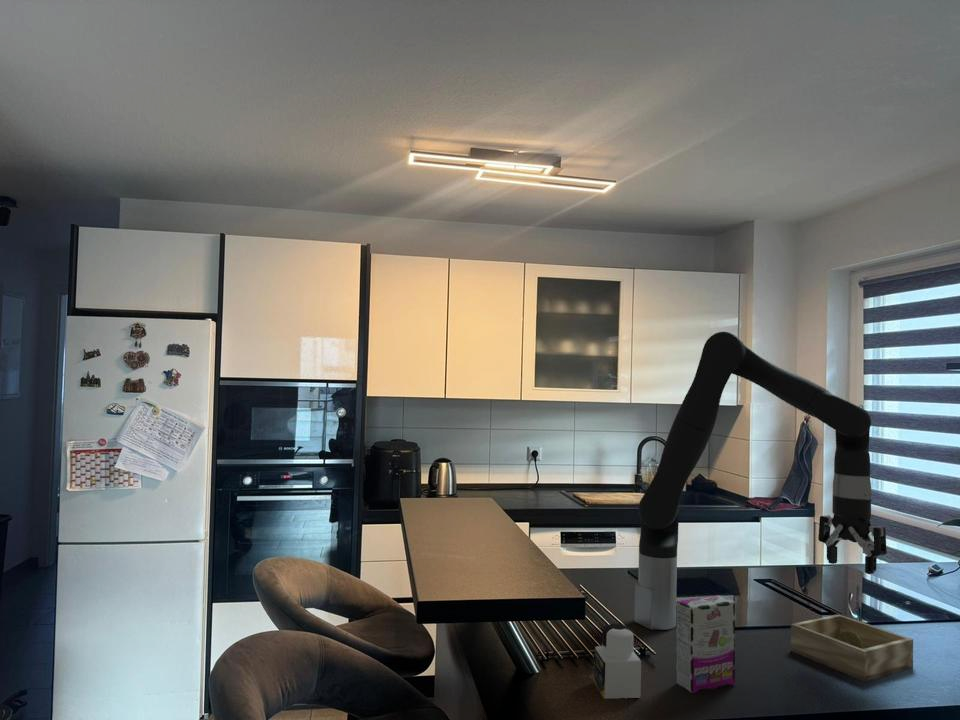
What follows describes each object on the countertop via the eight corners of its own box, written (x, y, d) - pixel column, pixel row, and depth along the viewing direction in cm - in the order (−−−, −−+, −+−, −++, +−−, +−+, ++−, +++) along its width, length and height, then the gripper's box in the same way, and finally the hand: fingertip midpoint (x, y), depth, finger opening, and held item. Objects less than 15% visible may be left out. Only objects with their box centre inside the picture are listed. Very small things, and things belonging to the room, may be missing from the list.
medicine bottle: (593, 682, 130) (595, 620, 130) (629, 682, 130) (630, 620, 131) (603, 699, 123) (605, 634, 123) (640, 699, 123) (642, 634, 124)
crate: (864, 681, 134) (864, 651, 134) (790, 650, 149) (791, 624, 149) (913, 667, 142) (913, 639, 142) (838, 639, 157) (838, 614, 157)
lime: (865, 659, 143) (865, 636, 143) (840, 657, 144) (841, 633, 144) (857, 651, 147) (857, 628, 147) (834, 649, 148) (834, 626, 148)
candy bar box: (717, 675, 135) (718, 594, 136) (735, 685, 130) (736, 601, 131) (673, 683, 131) (675, 599, 131) (691, 694, 126) (692, 607, 127)
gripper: (811, 490, 151) (810, 561, 151) (873, 501, 139) (872, 578, 138) (832, 489, 155) (831, 558, 154) (894, 499, 142) (893, 575, 142)
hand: (850, 568), depth 146 cm, fingers open, 8 cm apart
